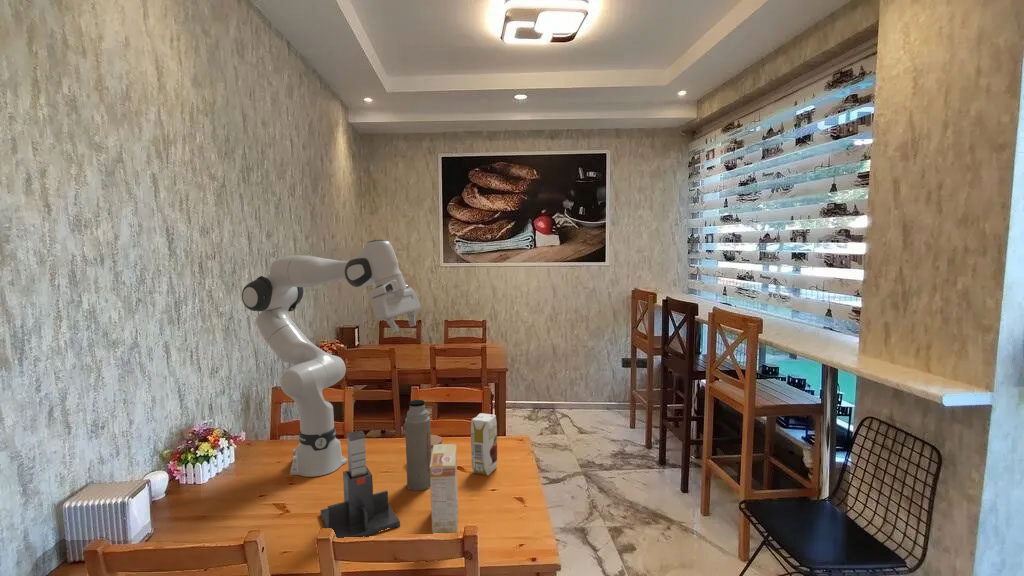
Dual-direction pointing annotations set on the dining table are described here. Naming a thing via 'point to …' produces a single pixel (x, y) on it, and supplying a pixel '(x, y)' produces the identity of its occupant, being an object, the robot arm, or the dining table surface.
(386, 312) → the robot arm
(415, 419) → the thermos bottle
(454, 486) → the coffeecake box
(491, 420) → the juice carton
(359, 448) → the steel column
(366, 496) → the jack stand
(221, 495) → the dining table surface
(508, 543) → the dining table surface
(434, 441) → the lidded jar
